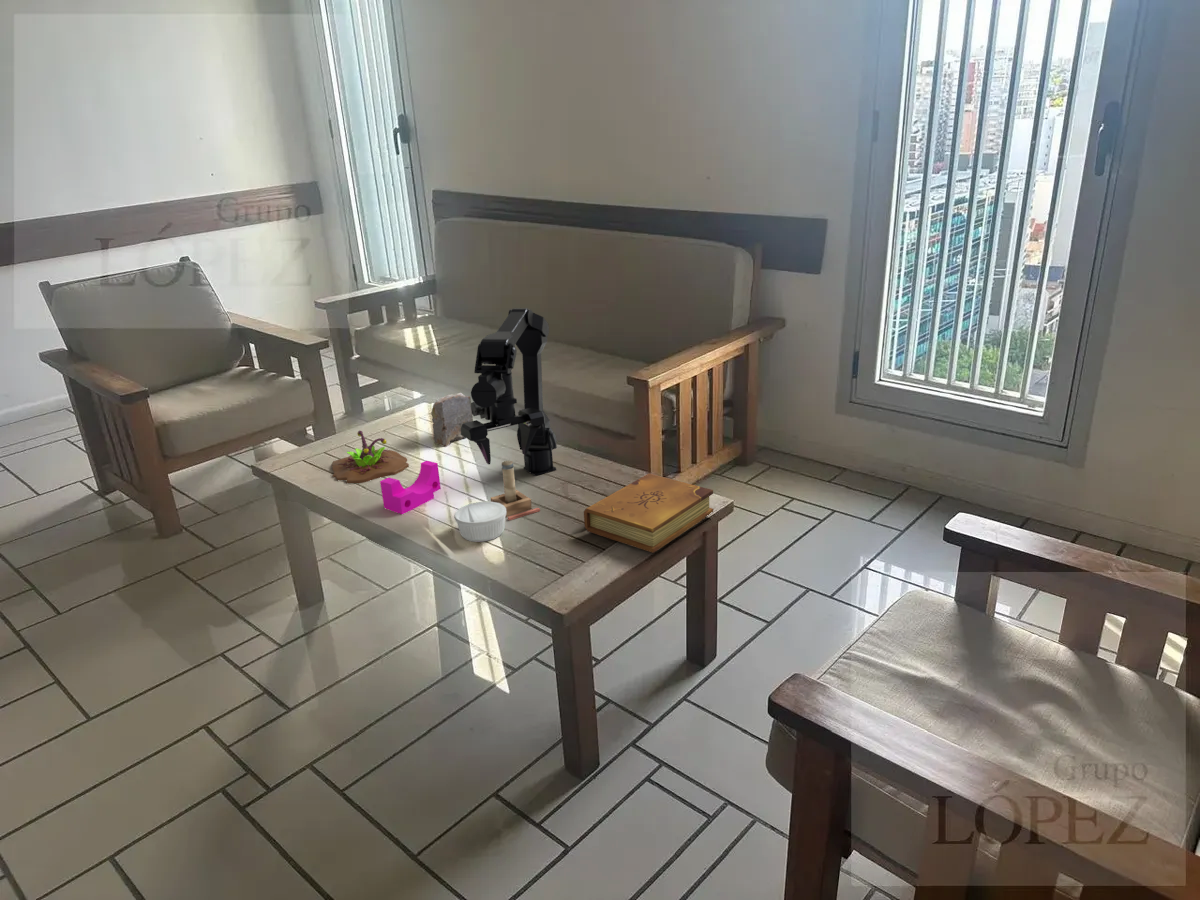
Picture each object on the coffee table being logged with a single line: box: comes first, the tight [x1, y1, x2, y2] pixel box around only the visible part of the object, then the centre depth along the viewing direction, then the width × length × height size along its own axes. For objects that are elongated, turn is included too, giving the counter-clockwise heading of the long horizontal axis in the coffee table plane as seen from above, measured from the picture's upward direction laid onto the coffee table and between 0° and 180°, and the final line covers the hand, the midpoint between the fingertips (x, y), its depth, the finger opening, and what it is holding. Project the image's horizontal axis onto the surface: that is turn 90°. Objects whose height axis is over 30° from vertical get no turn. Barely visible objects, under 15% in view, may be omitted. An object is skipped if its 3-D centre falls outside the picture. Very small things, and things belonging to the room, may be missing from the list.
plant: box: [331, 430, 410, 484], centre depth 224 cm, size 20×20×11 cm
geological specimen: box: [430, 392, 474, 447], centre depth 239 cm, size 11×6×15 cm, turn 138°
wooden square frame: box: [489, 489, 541, 521], centre depth 197 cm, size 8×9×2 cm
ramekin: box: [454, 501, 506, 543], centre depth 186 cm, size 11×11×5 cm
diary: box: [583, 473, 714, 554], centre depth 188 cm, size 23×19×6 cm
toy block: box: [379, 460, 442, 515], centre depth 204 cm, size 15×6×8 cm, turn 145°
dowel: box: [501, 460, 517, 504], centre depth 196 cm, size 3×3×12 cm
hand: (506, 459), depth 194 cm, fingers open, 9 cm apart
